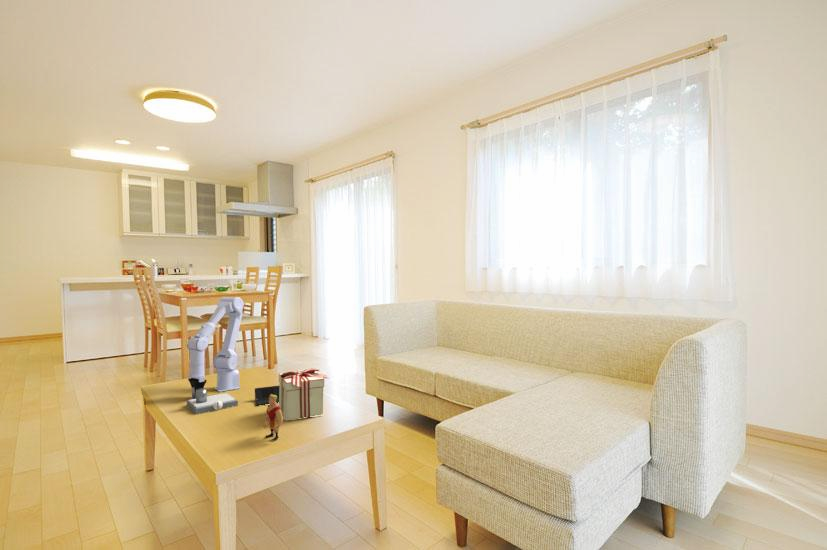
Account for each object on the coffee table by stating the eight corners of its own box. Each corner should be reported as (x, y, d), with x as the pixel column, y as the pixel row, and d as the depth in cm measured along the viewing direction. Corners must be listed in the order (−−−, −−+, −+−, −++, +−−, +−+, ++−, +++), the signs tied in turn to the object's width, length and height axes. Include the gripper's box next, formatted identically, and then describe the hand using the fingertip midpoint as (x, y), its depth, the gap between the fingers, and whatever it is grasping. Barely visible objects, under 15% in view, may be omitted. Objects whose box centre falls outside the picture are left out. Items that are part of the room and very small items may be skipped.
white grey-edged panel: (226, 397, 180) (226, 389, 180) (238, 406, 169) (238, 397, 169) (186, 405, 169) (186, 396, 169) (196, 414, 158) (196, 405, 158)
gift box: (288, 425, 148) (288, 378, 148) (275, 411, 163) (275, 368, 163) (332, 416, 157) (332, 372, 157) (316, 404, 173) (316, 363, 173)
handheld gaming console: (258, 404, 167) (257, 381, 173) (253, 411, 172) (252, 388, 177) (285, 403, 174) (284, 381, 180) (280, 409, 178) (278, 388, 184)
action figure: (260, 435, 138) (260, 392, 138) (270, 432, 141) (270, 389, 141) (274, 443, 132) (274, 398, 132) (284, 440, 135) (284, 395, 135)
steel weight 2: (205, 399, 170) (205, 387, 170) (208, 401, 167) (208, 389, 166) (194, 401, 167) (194, 389, 167) (197, 403, 164) (197, 391, 164)
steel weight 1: (200, 396, 182) (200, 385, 182) (203, 398, 179) (203, 387, 179) (190, 398, 179) (191, 386, 179) (193, 400, 176) (193, 388, 176)
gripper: (183, 362, 182) (182, 393, 182) (191, 368, 171) (191, 400, 171) (200, 360, 187) (200, 390, 187) (209, 366, 176) (209, 397, 176)
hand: (197, 395), depth 179 cm, fingers closed on steel weight 1, 4 cm apart
